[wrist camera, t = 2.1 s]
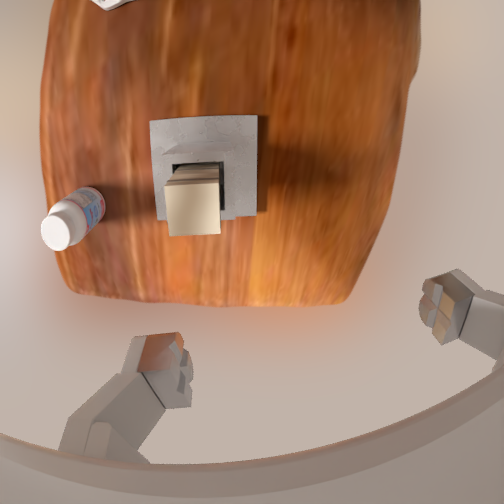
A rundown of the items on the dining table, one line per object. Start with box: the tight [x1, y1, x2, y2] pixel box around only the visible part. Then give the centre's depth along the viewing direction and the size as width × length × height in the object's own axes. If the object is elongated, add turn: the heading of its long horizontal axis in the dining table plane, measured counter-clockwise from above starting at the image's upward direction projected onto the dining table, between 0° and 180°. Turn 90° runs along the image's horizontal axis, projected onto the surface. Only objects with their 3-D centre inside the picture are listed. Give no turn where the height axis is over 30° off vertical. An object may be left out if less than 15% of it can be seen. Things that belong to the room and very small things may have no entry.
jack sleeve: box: [150, 115, 257, 223], centre depth 33 cm, size 14×14×12 cm
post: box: [164, 161, 221, 236], centre depth 29 cm, size 4×4×17 cm
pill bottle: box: [41, 187, 105, 251], centre depth 33 cm, size 6×6×11 cm
